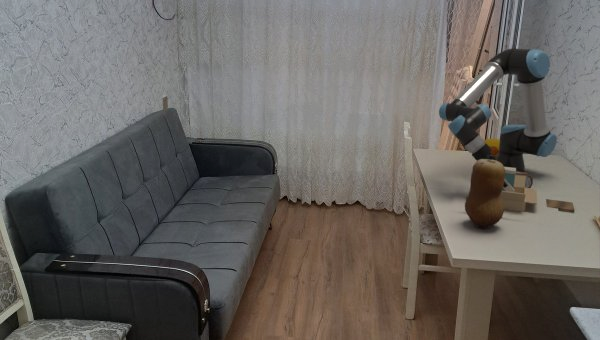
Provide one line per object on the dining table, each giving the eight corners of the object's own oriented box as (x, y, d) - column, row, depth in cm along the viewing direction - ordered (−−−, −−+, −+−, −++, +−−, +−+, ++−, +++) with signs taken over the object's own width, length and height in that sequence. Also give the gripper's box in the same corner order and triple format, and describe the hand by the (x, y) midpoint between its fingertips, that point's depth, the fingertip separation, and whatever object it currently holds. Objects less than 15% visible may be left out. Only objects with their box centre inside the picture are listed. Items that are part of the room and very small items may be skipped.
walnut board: (546, 209, 210) (546, 206, 210) (545, 201, 219) (546, 198, 218) (574, 212, 206) (574, 210, 206) (572, 205, 215) (572, 202, 215)
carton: (472, 209, 209) (475, 187, 206) (478, 190, 232) (480, 171, 229) (535, 218, 200) (538, 195, 197) (534, 198, 223) (537, 177, 221)
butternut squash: (508, 230, 187) (517, 164, 180) (476, 234, 184) (484, 166, 177) (485, 217, 200) (492, 154, 193) (454, 220, 196) (461, 156, 189)
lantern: (525, 139, 285) (469, 133, 299) (522, 146, 278) (465, 140, 292) (523, 155, 290) (468, 148, 304) (520, 163, 282) (464, 155, 296)
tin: (531, 190, 234) (534, 172, 231) (531, 192, 231) (534, 174, 229) (496, 186, 238) (498, 168, 236) (496, 188, 236) (498, 170, 233)
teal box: (498, 202, 214) (502, 169, 210) (498, 198, 219) (502, 166, 215) (511, 203, 212) (515, 171, 208) (511, 200, 217) (516, 168, 213)
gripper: (473, 147, 227) (505, 184, 226) (467, 160, 205) (503, 202, 204) (487, 136, 224) (520, 174, 222) (483, 149, 202) (519, 191, 200)
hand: (512, 187), depth 213 cm, fingers open, 13 cm apart
